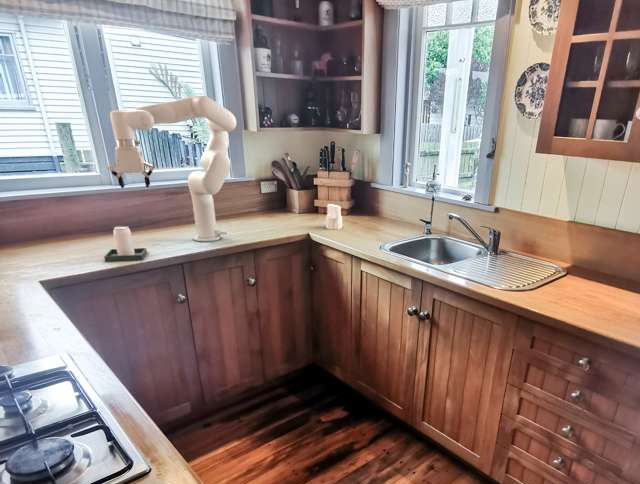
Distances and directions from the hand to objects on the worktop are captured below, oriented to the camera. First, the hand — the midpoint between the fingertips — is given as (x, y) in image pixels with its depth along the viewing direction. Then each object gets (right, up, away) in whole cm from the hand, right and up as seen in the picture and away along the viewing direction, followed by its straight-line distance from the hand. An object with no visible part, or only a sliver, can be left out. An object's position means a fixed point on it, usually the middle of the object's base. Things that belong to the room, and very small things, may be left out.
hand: (135, 187), depth 197 cm
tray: (-4, -30, +1) cm, 30 cm away
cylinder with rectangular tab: (+79, -4, +62) cm, 100 cm away
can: (-4, -29, 0) cm, 29 cm away
